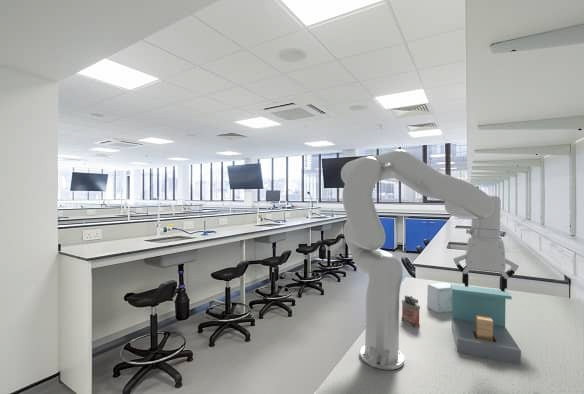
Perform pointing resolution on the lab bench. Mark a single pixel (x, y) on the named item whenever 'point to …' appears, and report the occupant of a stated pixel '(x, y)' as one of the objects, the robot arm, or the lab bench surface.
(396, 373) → the lab bench surface
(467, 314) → the socket block
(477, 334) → the peg
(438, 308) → the skincare box
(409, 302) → the lighter
